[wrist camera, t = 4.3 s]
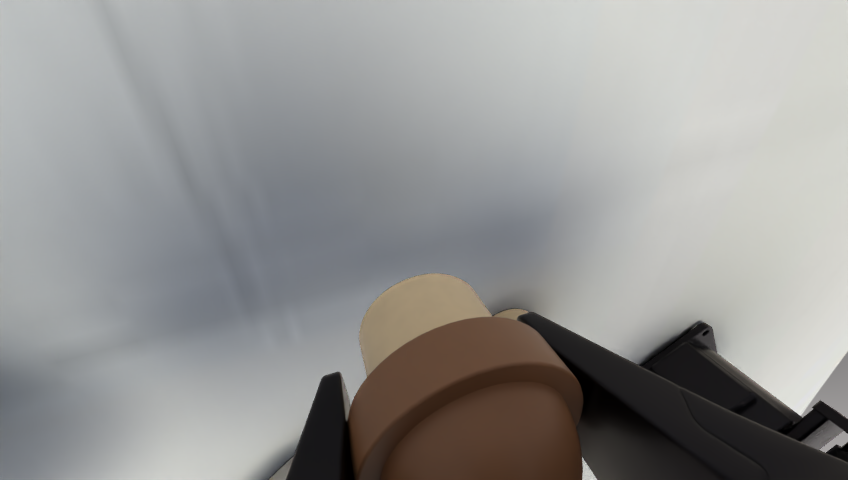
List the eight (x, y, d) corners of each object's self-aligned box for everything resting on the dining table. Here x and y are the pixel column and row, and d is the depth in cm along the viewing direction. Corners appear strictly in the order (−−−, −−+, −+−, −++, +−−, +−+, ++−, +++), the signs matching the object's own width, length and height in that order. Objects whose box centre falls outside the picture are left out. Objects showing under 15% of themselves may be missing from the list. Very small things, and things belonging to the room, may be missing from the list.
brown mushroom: (523, 315, 11) (679, 506, 6) (404, 405, 11) (478, 645, 7) (444, 215, 8) (617, 420, 4) (293, 336, 9) (295, 652, 4)
